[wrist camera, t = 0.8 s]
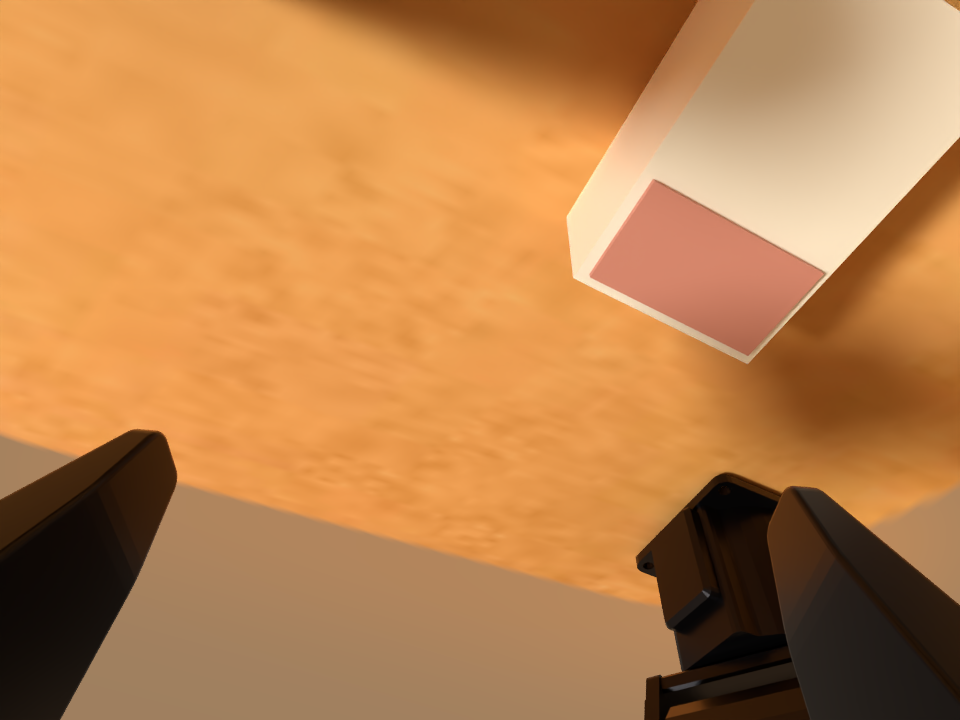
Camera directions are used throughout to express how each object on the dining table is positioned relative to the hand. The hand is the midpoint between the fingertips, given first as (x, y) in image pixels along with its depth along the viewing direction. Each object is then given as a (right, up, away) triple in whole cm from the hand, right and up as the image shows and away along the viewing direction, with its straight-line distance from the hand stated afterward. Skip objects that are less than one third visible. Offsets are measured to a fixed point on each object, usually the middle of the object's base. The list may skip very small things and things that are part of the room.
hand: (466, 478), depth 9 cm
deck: (+7, +8, +9) cm, 14 cm away
